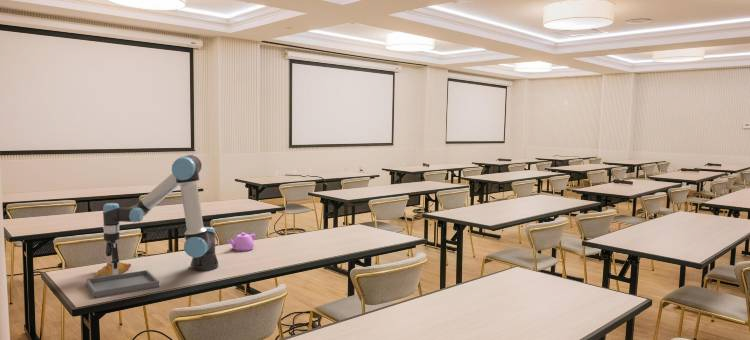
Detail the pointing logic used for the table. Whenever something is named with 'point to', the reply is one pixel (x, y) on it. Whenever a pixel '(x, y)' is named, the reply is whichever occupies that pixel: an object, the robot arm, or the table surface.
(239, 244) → the teapot
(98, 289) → the serving tray
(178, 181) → the robot arm
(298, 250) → the table surface
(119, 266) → the croissant
